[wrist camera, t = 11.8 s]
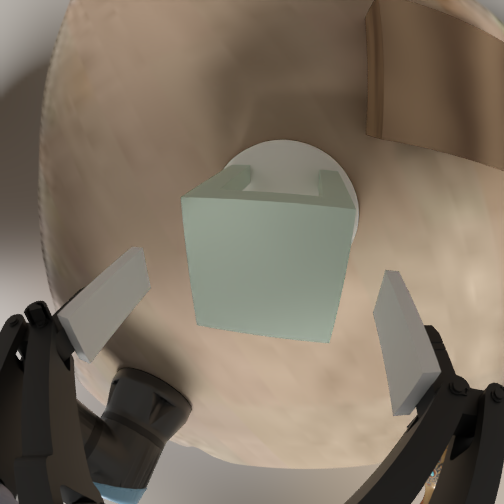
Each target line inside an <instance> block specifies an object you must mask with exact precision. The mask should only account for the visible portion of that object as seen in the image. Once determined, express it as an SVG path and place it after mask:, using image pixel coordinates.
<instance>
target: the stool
mask: <svg viewBox="0 0 504 504" xmlns="http://www.w3.org/2000/svg"><path fill="white" fill-rule="evenodd" d="M249 183H250V165H233V164H232V165H231V166H229V167H227V168H226V169H224V170H222V171H221V172H219V173H217V174H216V175H214V176H213V177H211V178H209V179H208V180H206V181H205V182H203V183H202V184H200V185H198V186H197V187H195V188H194V189H192V190H191V191H189V192H188V193H186V194H185V195H183V196H182V197H181V206H182V216H183V226H184V235H185V244H186V253H187V261H188V268H189V276H190V283H191V290H192V297H193V303H194V309H195V316H196V322H197V325H199V326H205V327H210V328H216V329H222V330H228V331H234V332H240V333H246V334H253V335H260V336H268V337H275V338H283V339H292V340H301V341H311V342H322V343H329V342H330V338H331V335H332V331H333V327H334V323H335V319H336V315H337V311H338V306H339V302H340V298H341V293H342V288H343V284H344V279H345V274H346V269H347V264H348V258H349V253H350V247H351V241H352V235H353V229H354V223H355V216H356V208H355V205H354V203H353V201H352V199H351V197H350V195H349V192H348V190H347V188H346V186H345V184H344V182H343V180H342V178H341V176H340V174H339V172H338V171H331V170H321V169H319V184H318V191H319V196H312V195H300V194H288V193H274V192H258V191H243V190H244V189H245V188H246V186H247V185H248V184H249Z"/></svg>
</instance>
